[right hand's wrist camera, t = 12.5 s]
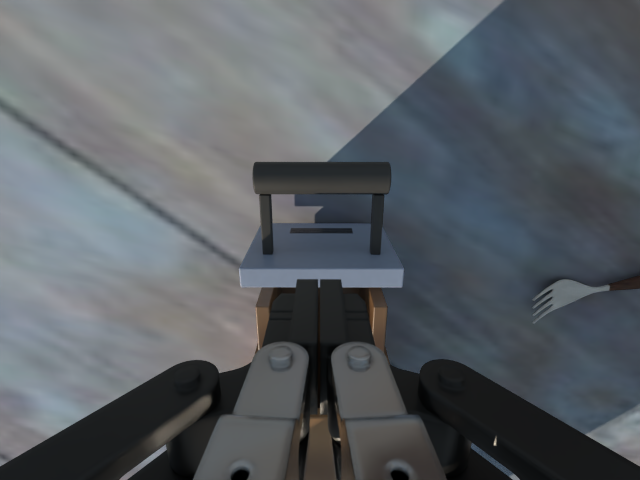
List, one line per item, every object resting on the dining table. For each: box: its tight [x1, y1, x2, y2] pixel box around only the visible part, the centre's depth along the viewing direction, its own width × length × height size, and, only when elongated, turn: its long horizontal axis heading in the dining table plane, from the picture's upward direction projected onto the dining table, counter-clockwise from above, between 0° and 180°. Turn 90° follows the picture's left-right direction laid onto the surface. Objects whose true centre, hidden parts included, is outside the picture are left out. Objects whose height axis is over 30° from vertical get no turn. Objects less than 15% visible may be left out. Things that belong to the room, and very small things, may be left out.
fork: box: [532, 276, 640, 324], centre depth 29 cm, size 3×16×2 cm, turn 102°
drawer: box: [239, 162, 404, 408], centre depth 26 cm, size 24×9×8 cm, turn 0°
